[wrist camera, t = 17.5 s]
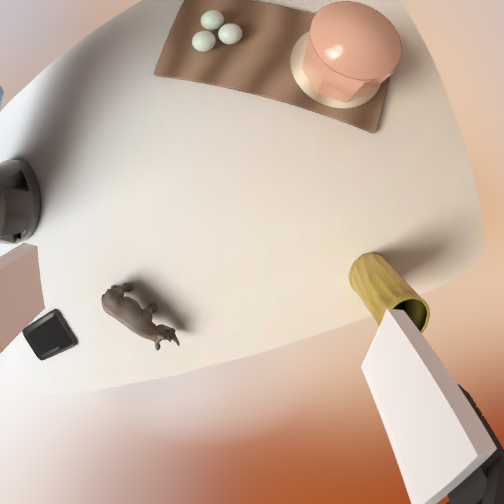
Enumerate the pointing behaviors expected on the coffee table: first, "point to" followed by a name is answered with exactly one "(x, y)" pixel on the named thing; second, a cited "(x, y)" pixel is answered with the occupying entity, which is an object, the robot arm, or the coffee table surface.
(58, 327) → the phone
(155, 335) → the rhino figurine
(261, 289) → the coffee table surface
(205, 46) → the marble
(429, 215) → the coffee table surface
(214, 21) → the marble
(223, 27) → the marble
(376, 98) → the board
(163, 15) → the coffee table surface
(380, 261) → the vase
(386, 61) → the domed lid canister
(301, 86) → the coaster
